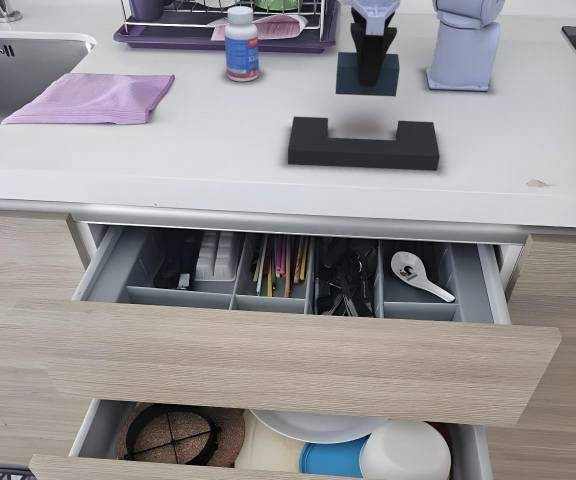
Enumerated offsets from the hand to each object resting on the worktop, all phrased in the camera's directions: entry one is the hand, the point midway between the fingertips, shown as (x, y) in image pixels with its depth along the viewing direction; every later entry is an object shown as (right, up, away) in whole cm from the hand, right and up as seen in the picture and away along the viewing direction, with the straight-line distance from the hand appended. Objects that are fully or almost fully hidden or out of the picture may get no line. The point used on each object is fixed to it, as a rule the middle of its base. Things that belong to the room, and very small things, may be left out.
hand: (367, 76), depth 78 cm
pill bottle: (-18, +11, +21) cm, 30 cm away
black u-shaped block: (0, -8, +4) cm, 9 cm away
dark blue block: (0, -1, +1) cm, 1 cm away
